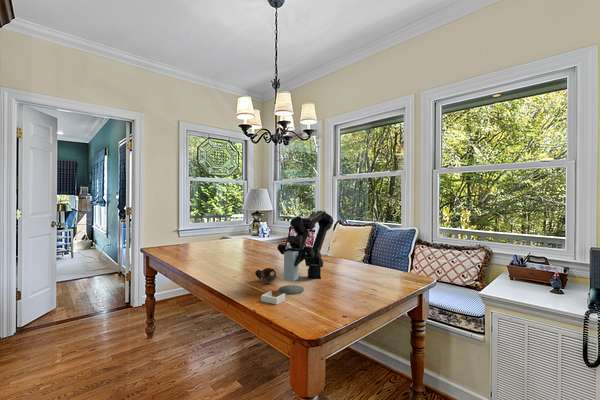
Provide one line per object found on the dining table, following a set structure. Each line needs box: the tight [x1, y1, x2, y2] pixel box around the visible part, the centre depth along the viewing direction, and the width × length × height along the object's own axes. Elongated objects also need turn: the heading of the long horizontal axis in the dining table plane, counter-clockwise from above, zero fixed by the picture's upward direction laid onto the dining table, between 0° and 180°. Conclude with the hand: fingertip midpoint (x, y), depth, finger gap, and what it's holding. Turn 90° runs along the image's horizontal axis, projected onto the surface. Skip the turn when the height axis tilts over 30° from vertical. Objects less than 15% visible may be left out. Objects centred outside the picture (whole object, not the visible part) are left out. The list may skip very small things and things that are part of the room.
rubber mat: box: [278, 284, 305, 295], centre depth 137 cm, size 12×12×1 cm
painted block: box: [283, 250, 299, 282], centre depth 137 cm, size 5×5×13 cm
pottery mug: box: [255, 267, 278, 285], centre depth 150 cm, size 12×10×8 cm
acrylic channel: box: [260, 290, 286, 305], centre depth 123 cm, size 7×8×2 cm
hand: (289, 265), depth 135 cm, fingers closed on painted block, 5 cm apart
